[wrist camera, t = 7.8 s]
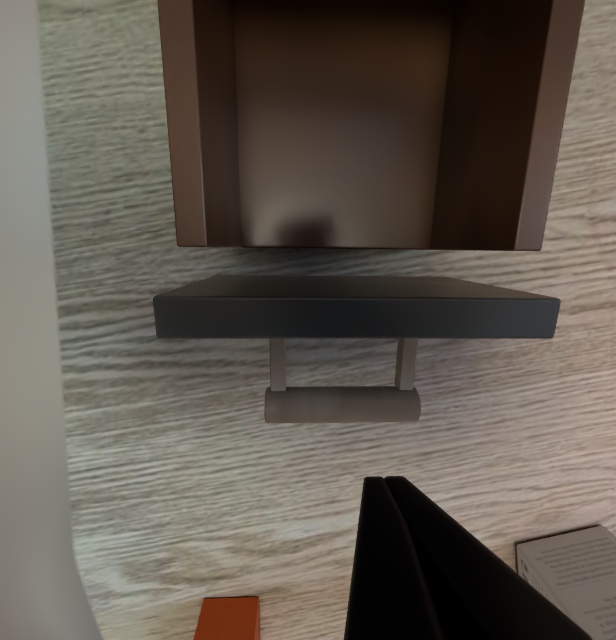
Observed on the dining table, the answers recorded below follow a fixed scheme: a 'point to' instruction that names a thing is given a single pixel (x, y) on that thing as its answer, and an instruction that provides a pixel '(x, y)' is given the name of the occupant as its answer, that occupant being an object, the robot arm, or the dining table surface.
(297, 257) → the dining table surface
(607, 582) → the cosmetic box
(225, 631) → the orange rectangular block
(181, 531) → the dining table surface
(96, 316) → the dining table surface
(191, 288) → the drawer
